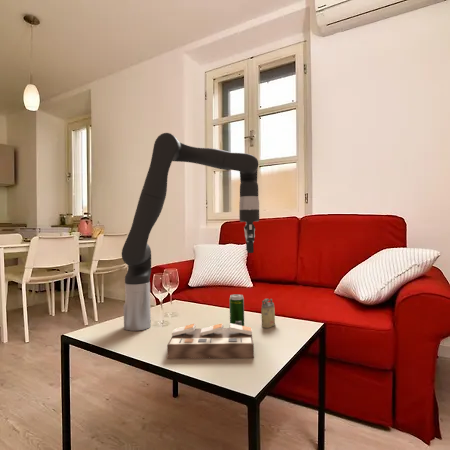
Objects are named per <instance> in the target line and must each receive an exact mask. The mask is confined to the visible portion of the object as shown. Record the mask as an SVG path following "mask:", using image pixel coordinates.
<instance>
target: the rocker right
mask: <svg viewBox="0 0 450 450" xmlns="http://www.w3.org/2000/svg"><path fill="white" fill-rule="evenodd" d="M228 328H229V330H230V331H234V332H239V333H244V334H248V335H252V336H253V329H252V327H250V326H246V325H244V326H241V325H236V324H232V323H230V322H229V327H228Z"/></svg>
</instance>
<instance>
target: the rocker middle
mask: <svg viewBox="0 0 450 450" xmlns="http://www.w3.org/2000/svg"><path fill="white" fill-rule="evenodd" d="M223 328H224V323H223V322H221V323H217V324H213V325H211V326H206V327H201V328H200V329H201V336H203V335H207V334H211V333H215V332H219V331H223Z"/></svg>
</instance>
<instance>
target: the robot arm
mask: <svg viewBox="0 0 450 450" xmlns="http://www.w3.org/2000/svg"><path fill="white" fill-rule="evenodd" d="M152 148H153V149H152V153H151V154H152V155H151V159H150V164H149V167H148V170H147V174H146V177H145V179H144V182H143V186H142V189H141V192H140V195H139V198H138V202H137V205H136V209H135V213H134V216H133V219H132V220H133V221H132V224H131V226H130V230H129V233H128V235H127V236H126V239H125V241H124V244H123V246H122V249H121V258H122V260H123V262H124V264H126V265H127V271H126V274H125V276H124V292H125V293H124V295H125V301H124V303H123V330H127V331H131V332H133V331H134V332H137V331H144V330H147V329H150V327H151V326H152V324H151V323H152V322H151V321H152V319H151V318H152V317H151V282H150V281H151V280H150V278H151V274H152V251H151V247H150V245H149V244H148V241H149V237H150V234H151V231H152V230H153V227H154V225H156V222H157V220H158V219H159V218H160V215H161V213H162V210H163V208H164V207H163V206H164V203H165V200H166V197H167V191H168V178H169V177H168V175H169V172H170V168H171V166H172V163H173V162H179V163H180V162H182V163H183V162H184V163H191V164H196V165H201V166H206V167H210V168H214V169H218V170H224V171H231V170H232V171H237V172H239V179H240V180H239V181H240V184H239V201H238V202H239V203H238V204H239V207H238V208H239V215H238V217H239V222H241V223H243V222H245V225H244V226H243V231H244V239H245V243H246V244H245V245H246V246H245V247H246V249H245V250H246V252H247V253H248V254H253V253H254V251H255V250H254V242H255V237H256V234H255V231H256V226H255V224H254V222H259V221H260V200H259V183H258V171H259V170H258V169H259V160H258V159H257V157H256V156H255V155H254V154H253V155H252V154H249V153H242V152H231V151H227V150H223V149H218V148H211V147H196V146H191V145H188V144H185V143H182V142H180V141H179V140H178V139H177V137H176V136H175V135H174V134H172V133H170V132H164V133H163V132H162V133H161V134H159V135H158V136H157V137H156V139H155V141H154V143H153V147H152Z"/></svg>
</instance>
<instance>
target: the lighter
mask: <svg viewBox="0 0 450 450" xmlns="http://www.w3.org/2000/svg"><path fill="white" fill-rule="evenodd" d="M275 308H276V307H275V302H273V298H270V299H269V298H264V299H263V300H262V301H261V309H260V310H261V312H260V313H261V327H262V328H264V329H270V328H271V327H274V326H275V325H276V316H275V315H276V314H275V313H276V312H275Z"/></svg>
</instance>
